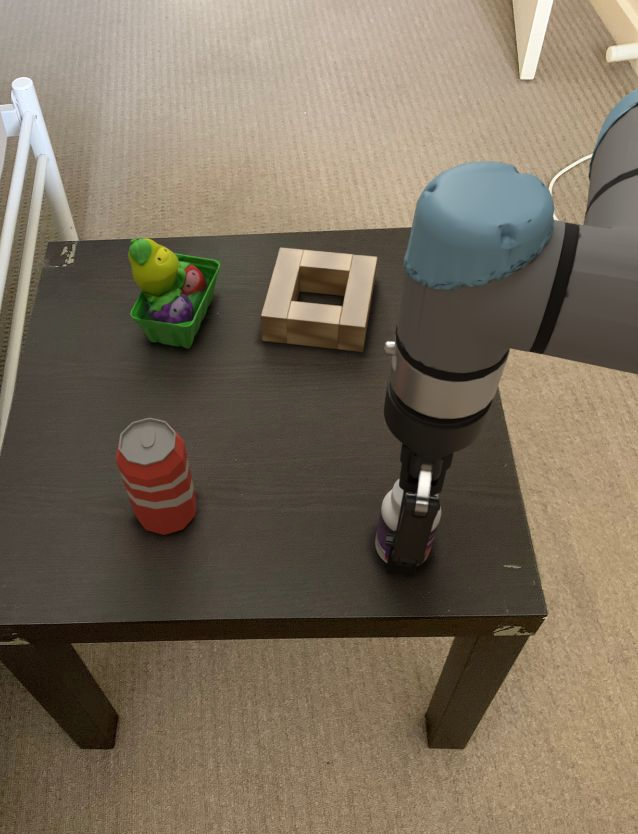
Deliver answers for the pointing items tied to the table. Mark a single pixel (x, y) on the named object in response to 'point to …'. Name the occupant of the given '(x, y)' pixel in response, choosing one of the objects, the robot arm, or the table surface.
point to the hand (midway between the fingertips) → (403, 542)
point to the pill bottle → (390, 521)
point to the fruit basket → (170, 292)
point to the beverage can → (156, 475)
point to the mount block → (319, 321)
